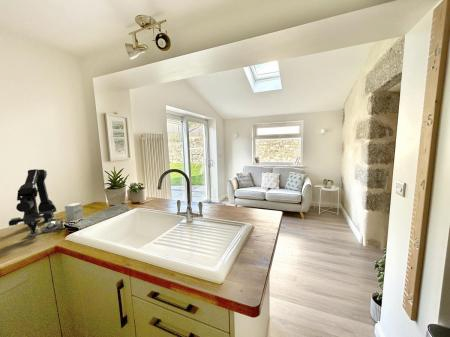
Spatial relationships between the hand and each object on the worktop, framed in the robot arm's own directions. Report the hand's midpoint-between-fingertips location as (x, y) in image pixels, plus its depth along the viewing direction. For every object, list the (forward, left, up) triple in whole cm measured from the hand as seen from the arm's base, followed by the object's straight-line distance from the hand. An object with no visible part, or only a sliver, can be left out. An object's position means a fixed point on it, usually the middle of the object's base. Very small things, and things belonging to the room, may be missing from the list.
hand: (34, 232), depth 120 cm
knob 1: (-3, 0, -1) cm, 3 cm away
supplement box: (-15, +20, -3) cm, 25 cm away
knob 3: (-3, +14, -1) cm, 15 cm away
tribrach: (-11, +7, -3) cm, 13 cm away
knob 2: (-18, +9, -1) cm, 20 cm away
